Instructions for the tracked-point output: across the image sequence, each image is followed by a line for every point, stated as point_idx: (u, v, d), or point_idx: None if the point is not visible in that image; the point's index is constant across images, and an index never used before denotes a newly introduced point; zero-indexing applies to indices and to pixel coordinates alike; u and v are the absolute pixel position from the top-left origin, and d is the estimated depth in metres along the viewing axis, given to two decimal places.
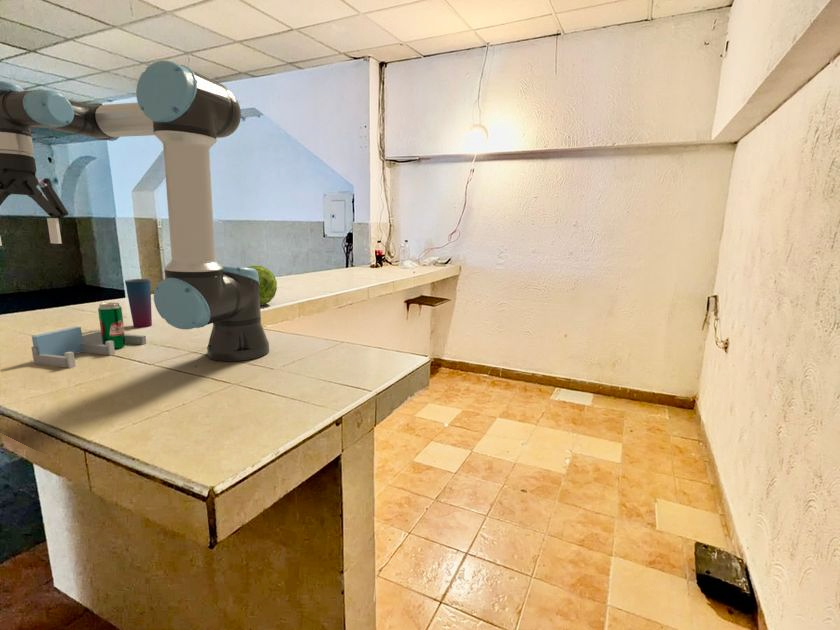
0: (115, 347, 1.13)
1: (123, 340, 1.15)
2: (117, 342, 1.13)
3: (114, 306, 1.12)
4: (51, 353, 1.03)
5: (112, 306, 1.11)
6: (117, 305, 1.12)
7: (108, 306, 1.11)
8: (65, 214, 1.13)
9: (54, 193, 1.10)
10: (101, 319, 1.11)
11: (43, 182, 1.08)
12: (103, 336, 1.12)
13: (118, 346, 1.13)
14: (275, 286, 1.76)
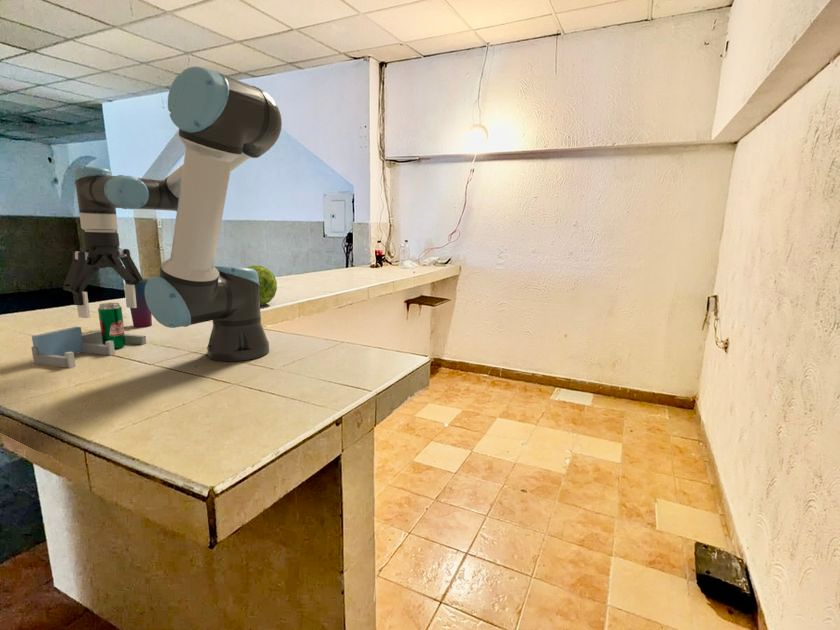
0: (115, 347, 1.13)
1: (123, 340, 1.15)
2: (117, 342, 1.13)
3: (114, 306, 1.12)
4: (51, 353, 1.03)
5: (112, 306, 1.11)
6: (117, 305, 1.12)
7: (108, 306, 1.11)
8: (140, 280, 1.20)
9: (132, 262, 1.17)
10: (101, 319, 1.11)
11: (123, 253, 1.15)
12: (103, 336, 1.12)
13: (118, 346, 1.13)
14: (275, 286, 1.76)
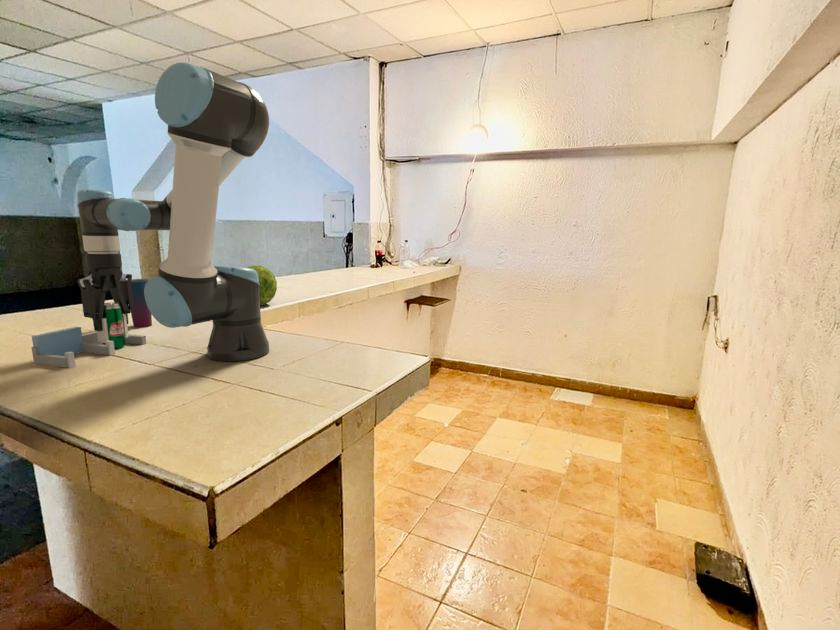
0: (115, 347, 1.13)
1: (123, 340, 1.15)
2: (117, 342, 1.13)
3: (114, 306, 1.12)
4: (51, 353, 1.03)
5: (112, 306, 1.11)
6: (117, 305, 1.12)
7: (108, 306, 1.11)
8: (131, 308, 1.18)
9: (130, 288, 1.17)
10: None
11: (125, 277, 1.16)
12: None
13: (118, 346, 1.13)
14: (275, 286, 1.76)
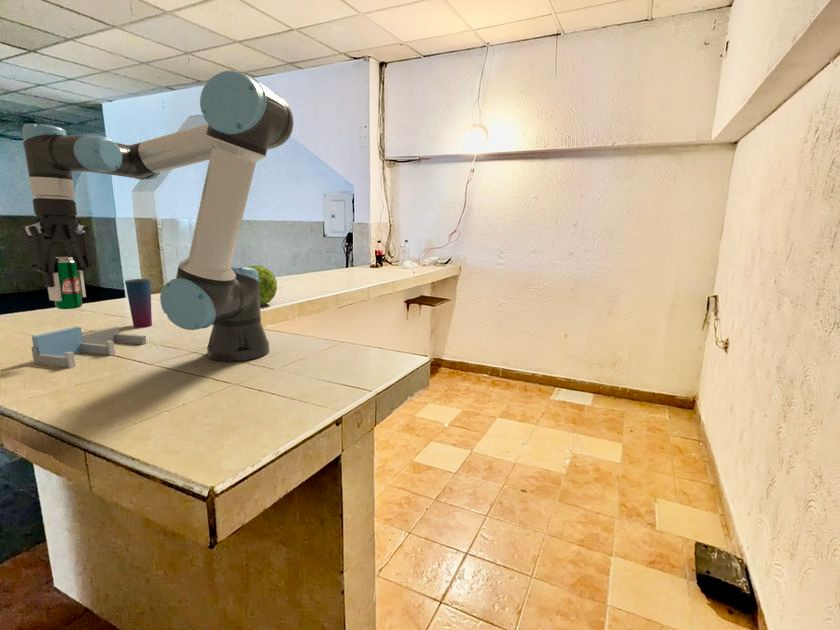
0: (69, 306, 1.00)
1: (79, 299, 1.02)
2: (71, 301, 1.01)
3: (67, 260, 0.99)
4: (51, 353, 1.03)
5: (65, 259, 0.99)
6: (71, 259, 1.00)
7: (60, 259, 0.98)
8: (89, 265, 1.05)
9: (88, 242, 1.04)
10: None
11: (82, 229, 1.03)
12: None
13: (73, 305, 1.01)
14: (275, 286, 1.76)
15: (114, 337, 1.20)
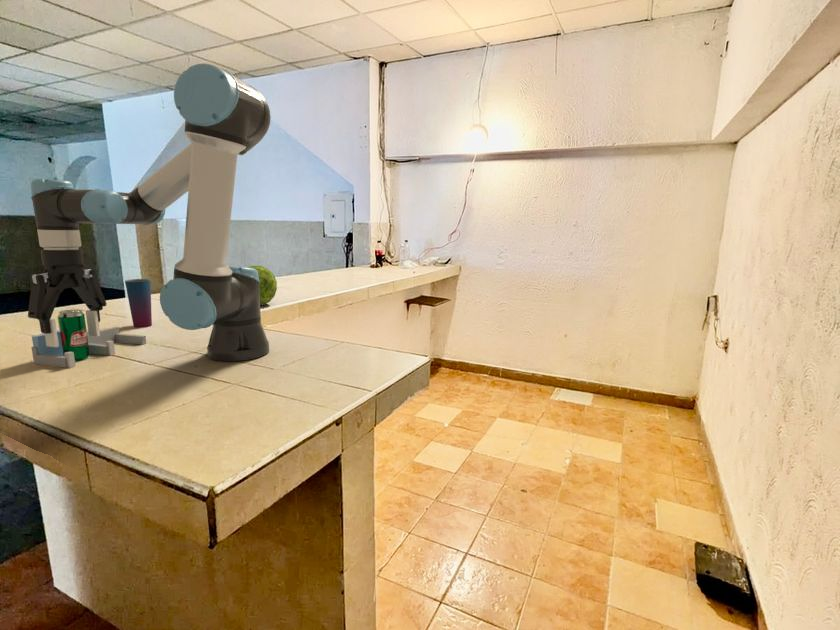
0: (77, 358, 1.03)
1: (86, 350, 1.05)
2: (79, 353, 1.03)
3: (75, 313, 1.02)
4: (51, 353, 1.03)
5: (73, 314, 1.01)
6: (79, 313, 1.03)
7: (68, 314, 1.01)
8: (103, 305, 1.10)
9: (97, 284, 1.08)
10: (61, 328, 1.01)
11: (89, 273, 1.06)
12: (63, 346, 1.02)
13: (81, 357, 1.04)
14: (275, 286, 1.76)
15: (114, 337, 1.20)
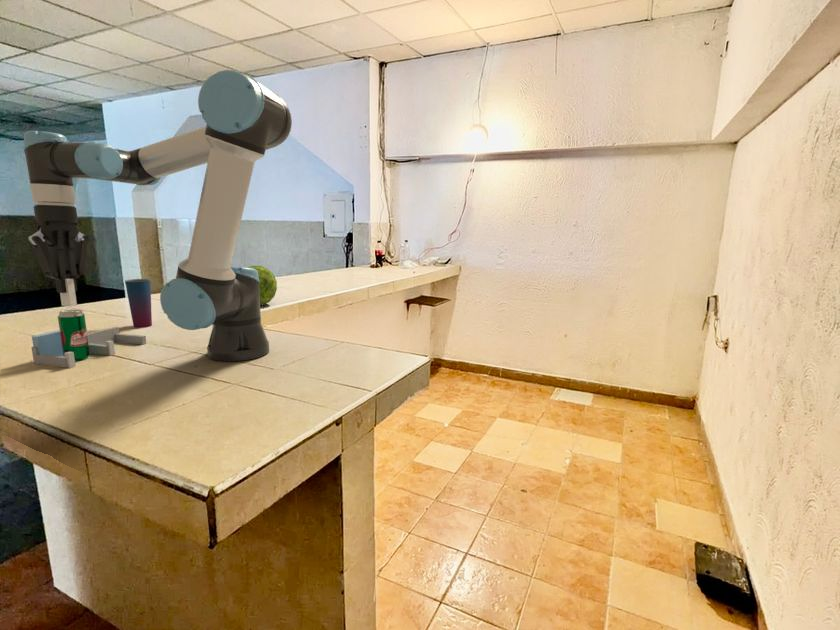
0: (77, 358, 1.03)
1: (86, 350, 1.05)
2: (79, 353, 1.03)
3: (76, 313, 1.02)
4: (51, 353, 1.03)
5: (73, 314, 1.01)
6: (79, 313, 1.03)
7: (69, 314, 1.01)
8: (80, 272, 1.03)
9: (84, 250, 1.04)
10: (61, 328, 1.01)
11: (81, 237, 1.04)
12: (64, 346, 1.02)
13: (81, 357, 1.04)
14: (275, 286, 1.76)
15: (114, 337, 1.20)
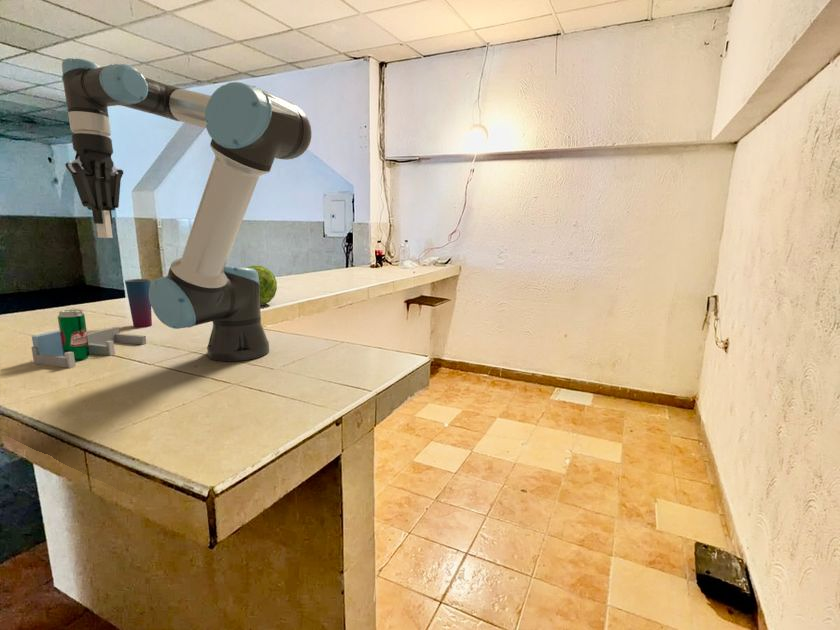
0: (77, 358, 1.03)
1: (86, 350, 1.05)
2: (79, 353, 1.03)
3: (75, 313, 1.02)
4: (51, 353, 1.03)
5: (73, 314, 1.01)
6: (79, 313, 1.03)
7: (69, 314, 1.01)
8: (115, 205, 1.05)
9: (118, 184, 1.06)
10: (61, 328, 1.01)
11: (115, 171, 1.05)
12: (63, 346, 1.02)
13: (81, 357, 1.04)
14: (275, 286, 1.76)
15: (114, 337, 1.20)
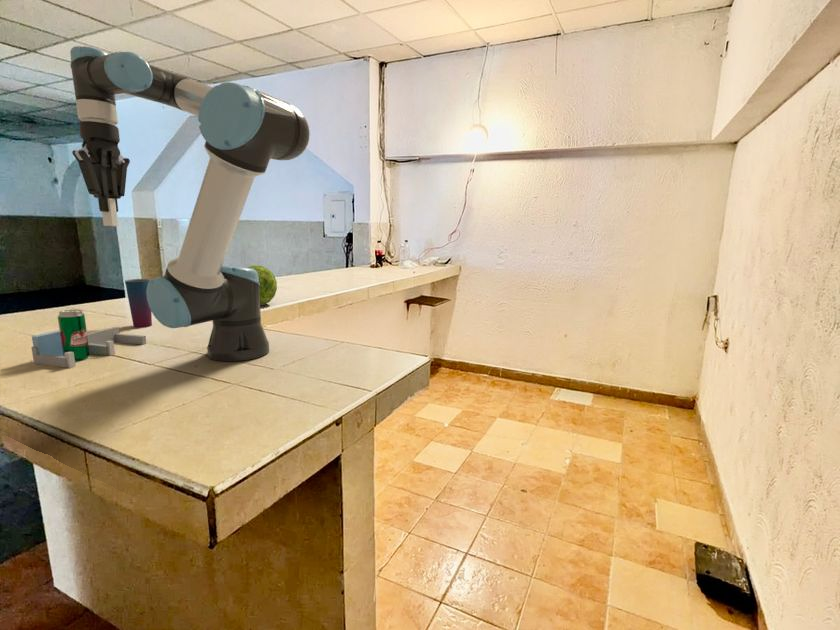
0: (77, 358, 1.03)
1: (86, 350, 1.05)
2: (79, 353, 1.03)
3: (75, 313, 1.02)
4: (51, 353, 1.03)
5: (73, 314, 1.01)
6: (79, 313, 1.03)
7: (69, 314, 1.01)
8: (121, 194, 1.06)
9: (125, 172, 1.06)
10: (61, 328, 1.01)
11: (122, 160, 1.06)
12: (63, 346, 1.02)
13: (81, 357, 1.04)
14: (275, 286, 1.76)
15: (114, 337, 1.20)
